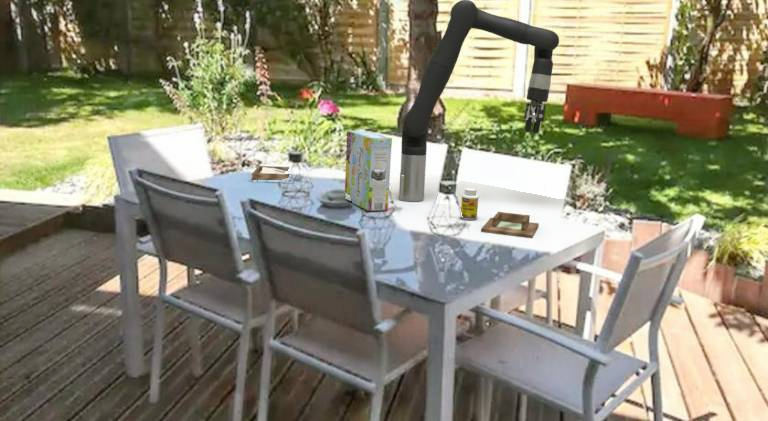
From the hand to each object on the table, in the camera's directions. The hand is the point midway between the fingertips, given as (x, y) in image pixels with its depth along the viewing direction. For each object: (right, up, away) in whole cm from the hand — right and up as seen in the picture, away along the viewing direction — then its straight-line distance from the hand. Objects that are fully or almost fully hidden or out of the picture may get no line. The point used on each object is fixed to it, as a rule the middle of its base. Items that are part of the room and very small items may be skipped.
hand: (531, 132), depth 259 cm
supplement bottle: (-25, -31, -17) cm, 43 cm away
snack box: (-60, -27, -3) cm, 66 cm away
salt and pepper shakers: (-99, -16, +37) cm, 107 cm away
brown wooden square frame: (-13, -34, -28) cm, 46 cm away
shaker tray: (-99, -15, +37) cm, 106 cm away
